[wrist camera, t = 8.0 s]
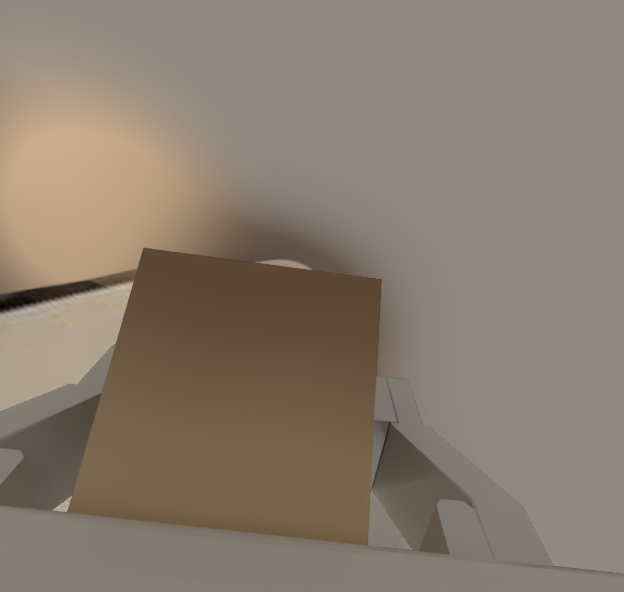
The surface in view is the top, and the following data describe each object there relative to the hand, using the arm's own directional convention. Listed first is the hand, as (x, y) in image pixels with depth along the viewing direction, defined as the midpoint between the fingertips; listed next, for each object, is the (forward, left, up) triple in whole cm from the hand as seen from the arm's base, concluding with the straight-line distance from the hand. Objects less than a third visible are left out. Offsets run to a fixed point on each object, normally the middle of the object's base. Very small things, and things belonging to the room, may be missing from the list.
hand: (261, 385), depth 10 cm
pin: (-1, 0, -6) cm, 6 cm away
